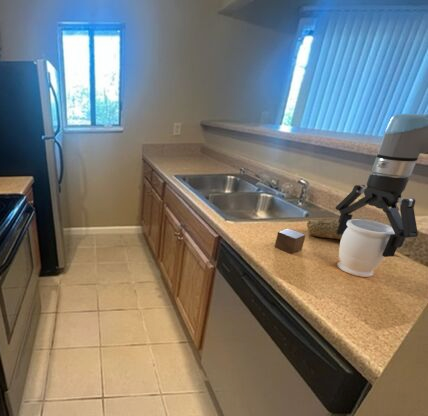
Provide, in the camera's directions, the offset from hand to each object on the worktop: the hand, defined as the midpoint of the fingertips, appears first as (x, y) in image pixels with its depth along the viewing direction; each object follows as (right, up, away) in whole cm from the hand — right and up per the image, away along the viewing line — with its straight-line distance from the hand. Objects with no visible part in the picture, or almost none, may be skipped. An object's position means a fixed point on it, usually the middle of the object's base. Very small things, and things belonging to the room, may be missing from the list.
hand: (362, 244), depth 81 cm
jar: (0, -9, +3) cm, 9 cm away
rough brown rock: (+13, -1, +23) cm, 27 cm away
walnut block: (-12, -4, +16) cm, 20 cm away
